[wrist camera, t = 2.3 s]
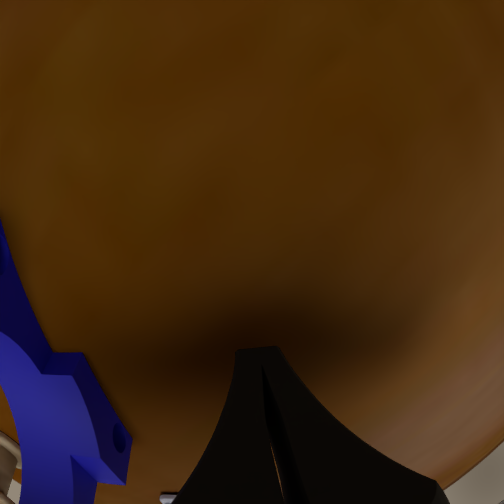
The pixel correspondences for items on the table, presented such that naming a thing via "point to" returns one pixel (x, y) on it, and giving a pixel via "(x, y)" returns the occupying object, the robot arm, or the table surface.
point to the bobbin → (8, 465)
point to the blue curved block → (55, 407)
